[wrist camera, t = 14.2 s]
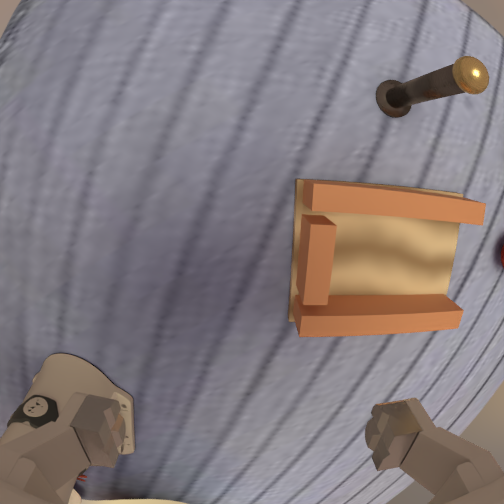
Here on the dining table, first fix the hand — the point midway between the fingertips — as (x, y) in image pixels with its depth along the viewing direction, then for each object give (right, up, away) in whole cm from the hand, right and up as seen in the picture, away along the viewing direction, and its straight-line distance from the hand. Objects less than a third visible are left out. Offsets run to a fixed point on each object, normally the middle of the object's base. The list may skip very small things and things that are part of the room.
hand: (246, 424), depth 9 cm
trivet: (+15, +5, +26) cm, 31 cm away
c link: (+15, +5, +25) cm, 30 cm away
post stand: (+16, +22, +21) cm, 35 cm away
